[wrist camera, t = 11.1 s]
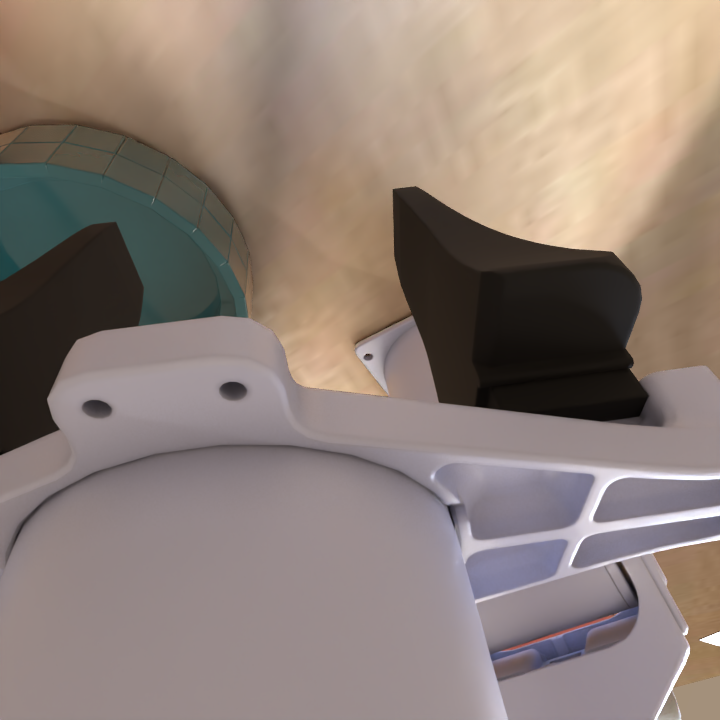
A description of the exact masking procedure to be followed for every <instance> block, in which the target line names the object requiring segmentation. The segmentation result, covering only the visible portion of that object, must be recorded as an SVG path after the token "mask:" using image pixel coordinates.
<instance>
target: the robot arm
mask: <svg viewBox="0 0 720 720" xmlns="http://www.w3.org/2000/svg"><path fill="white" fill-rule="evenodd" d="M393 219H394V257H395V262H396V266H397V271H398V275H399V279H400V284H401V287H402V289H403V292H404V295H405V297H406V300H407V302H408V305H409V308H410V310H411V313H412V316H410V317H408V318H406V319H404V320H402V321H400V322H398V323H396V324H394V325H392V326H390V327H388V328H386V329H384V330H382V331H380V332H378V333H376V334H374V335H372V336H370V337H368V338H366V339H364V340H362V341H360V342H358V343H357V344H356V345H355V353H356V355H357V357H358V358H359V359H360V360H361V362H362V363H363V364H364V365H365V367H366V368H367V369H368V370H369V372H370V373H371V374H372V376H373V377H374V378H375V379H376V381H377V382H378V383H379V384H380V386H381V387H382V388H383V389H384V391H385V392H386V393H387V395H388V396H389V397H385V396H376V395H367V394H359V393H350V392H342V391H333V390H324V389H316V388H307V387H303V386H301V385H299V384H297V383H296V382H295V381H294V380H293V378H292V376H291V374H290V371H289V368H288V364H287V359H286V355H285V351H284V348H283V346H282V345H281V343H280V341H279V340H278V338H277V337H276V335H275V333H274V332H273V330H271V329H269V328H267V327H265V326H263V325H262V324H260V323H258V322H256V321H254V320H252V319H250V318H242V317H229V316H216V317H208V318H200V319H192V320H184V321H176V322H168V323H160V324H152V325H144V326H138V325H139V321H140V318H141V311H142V304H143V293H144V286H143V284H142V282H141V279H140V277H139V274H138V272H137V270H136V267H135V265H134V263H133V260H132V258H131V256H130V253H129V251H128V249H127V246H126V244H125V242H124V239H123V237H122V235H121V232H120V230H119V228H118V225H117V223H116V222H108V223H99V224H92V225H89V226H87V227H85V228H83V229H81V230H80V231H78V232H76V233H75V234H73V235H72V236H70V237H69V238H67V239H66V240H64V241H63V242H61V243H60V244H58V245H57V246H55V247H54V248H52V249H51V250H49V251H48V252H46V253H45V254H44V255H42V256H41V257H39V258H38V259H36V260H35V261H33V262H31V263H30V264H28V265H27V266H25V267H23V268H22V269H20V270H19V271H17V272H15V273H14V274H12V275H11V276H9V277H8V278H6V279H4V280H2V281H1V282H0V720H657V717H658V715H659V713H660V711H661V709H662V708H663V706H664V704H665V702H666V700H667V698H668V696H669V694H670V692H671V690H672V688H673V686H674V684H675V682H676V680H677V678H678V676H679V674H680V673H681V671H682V669H683V667H684V665H685V663H686V660H687V657H688V655H689V651H690V646H689V644H688V642H687V640H686V638H685V636H684V635H686V634H687V632H688V625H687V623H686V621H685V620H684V618H683V616H682V614H681V612H680V611H679V609H678V607H677V605H676V603H675V602H674V600H673V598H672V596H671V594H670V592H669V591H668V589H667V587H666V585H667V579H666V577H665V575H664V574H663V572H662V570H661V568H660V566H659V564H658V563H657V561H656V559H655V557H654V555H653V553H654V552H658V551H663V550H667V549H672V548H676V547H681V546H686V545H692V544H698V543H703V542H709V541H715V540H720V380H719V379H718V378H717V377H716V376H715V375H714V374H713V373H712V371H711V370H710V369H709V368H708V367H707V366H695V367H687V368H680V369H673V370H665V371H658V372H654V373H651V374H648V375H647V376H645V377H644V378H642V379H641V380H640V381H638V380H637V379H636V377H635V376H634V375H633V373H632V372H631V370H630V369H629V368H632V366H633V364H634V362H633V358H632V357H631V355H630V354H629V353H628V351H627V350H626V349H625V348H626V345H627V342H628V340H629V337H630V334H631V332H632V329H633V326H634V324H635V321H636V319H637V316H638V313H639V310H640V305H641V301H642V295H641V287H640V284H639V283H638V281H637V279H636V278H635V276H634V275H633V273H632V272H631V271H630V270H629V269H628V268H627V267H626V266H625V265H624V264H623V263H622V261H621V260H620V259H619V258H618V257H617V256H616V255H615V254H614V253H613V252H609V251H594V250H579V249H569V248H563V247H556V246H549V245H544V244H539V243H535V242H531V241H527V240H523V239H519V238H516V237H512V236H509V235H506V234H503V233H501V232H498V231H496V230H493V229H490V228H488V227H485V226H483V225H481V224H479V223H477V222H475V221H473V220H471V219H469V218H467V217H465V216H463V215H461V214H460V213H458V212H456V211H454V210H453V209H451V208H450V207H448V206H446V205H445V204H443V203H442V202H440V201H438V200H437V199H435V198H434V197H432V196H431V195H429V194H428V193H426V192H425V191H423V190H422V189H420V188H418V187H416V186H415V187H406V188H398V189H393ZM366 354H371V355H369V356H365V355H366ZM619 612H620V613H619ZM616 613H618V614H616ZM613 614H616V615H615V616H613V617H611V618H609V619H606V620H603V621H600V622H597V623H594V624H591V625H588V626H585V627H582V628H579V629H576V630H572V631H569V632H566V633H563V634H560V635H557V636H554V637H551V638H548V639H545V640H542V641H539V642H536V643H532V644H529V645H526V646H523V647H520V648H517V649H514V650H507V651H503V650H506V649H509V648H512V647H515V646H518V645H521V644H524V643H527V642H530V641H533V640H536V639H539V638H542V637H545V636H549V635H552V634H555V633H558V632H561V631H564V630H567V629H570V628H573V627H576V626H579V625H582V624H585V623H588V622H591V621H594V620H598V619H601V618H604V617H607V616H610V615H613Z"/></svg>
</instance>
